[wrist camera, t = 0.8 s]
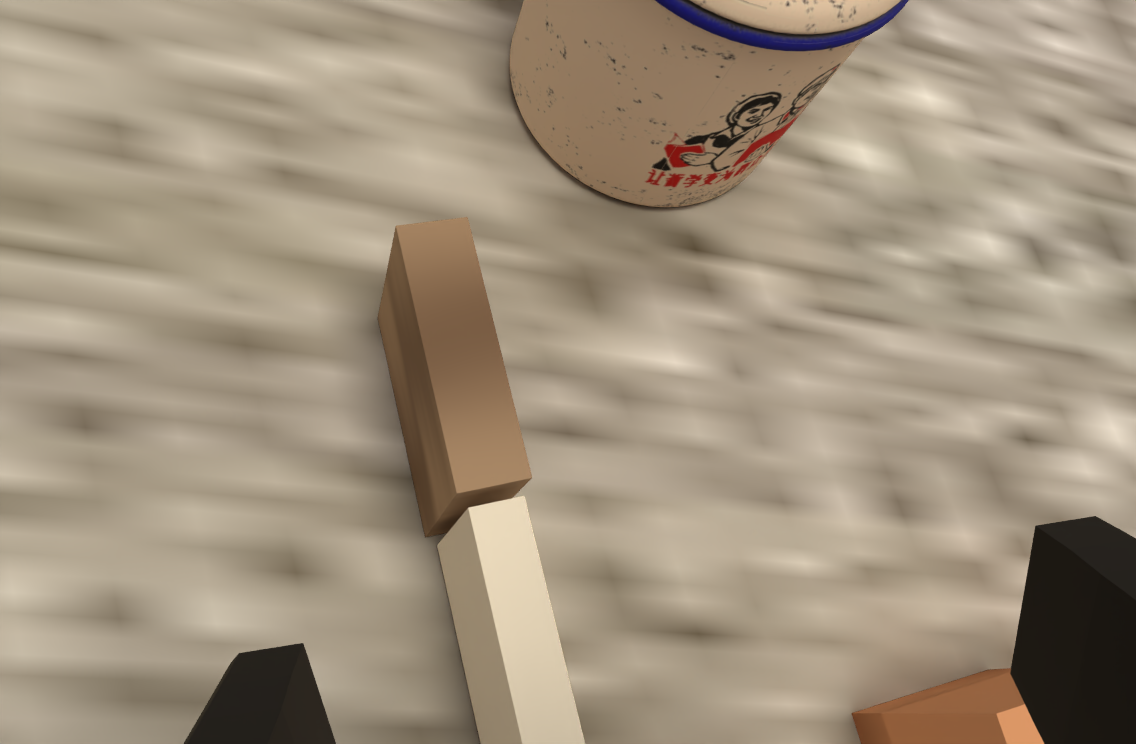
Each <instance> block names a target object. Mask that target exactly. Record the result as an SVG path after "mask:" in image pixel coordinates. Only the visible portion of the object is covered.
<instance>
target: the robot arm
mask: <svg viewBox="0 0 1136 744" xmlns="http://www.w3.org/2000/svg"><path fill="white" fill-rule="evenodd" d="M1010 674H1011V676H1012V678H1013V680H1014V682H1015V685H1016V687H1017V689H1018V691H1019V693H1020V695H1021V697H1022V699H1023V701H1024V703H1025V706H1026V708H1027V710H1028V712H1029V714H1030V716H1031V718H1032V720H1033V722H1034V724H1035V726H1036V728H1037V730H1038V732H1039V734H1040V736H1041V738H1042V740H1043V742H1044V744H1136V538H1134V537H1132V536H1130V535H1129V534H1127V533H1125V532H1123V531H1122V530H1120V529H1118V528H1116V527H1114V526H1112V525H1111V524H1109V523H1107V522H1105V521H1103V520H1101V519H1100V518H1098V517H1096V516H1094V517H1087V518H1081V519H1075V520H1069V521H1062V522H1056V523H1050V524H1044V525H1038V526H1035V532H1034V538H1033V544H1032V550H1031V555H1030V561H1029V567H1028V573H1027V579H1026V584H1025V590H1024V596H1023V602H1022V608H1021V614H1020V619H1019V625H1018V631H1017V637H1016V643H1015V648H1014V654H1013V660H1012V666H1011V672H1010ZM184 744H336V743H335V739H334V736H333V733H332V730H331V727H330V724H329V721H328V718H327V715H326V712H325V709H324V706H323V703H322V700H321V696H320V693H319V690H318V687H317V684H316V681H315V678H314V675H313V672H312V669H311V666H310V663H309V660H308V657H307V653H306V650H305V647H304V644H303V643H301V644H294V645H288V646H282V647H276V648H269V649H263V650H257V651H251V652H244V653H239V654H238V655H237V656H236V658H235V659H234V660H233V661H232V662H231V664H230V665H229V667H228V669H227V670H226V672H225V674H224V675H223V677H222V679H221V681H220V682H219V684H218V686H217V688H216V689H215V691H214V693H213V694H212V696H211V698H210V700H209V701H208V703H207V705H206V706H205V708H204V710H203V712H202V713H201V715H200V717H199V719H198V720H197V722H196V724H195V725H194V727H193V729H192V730H191V732H190V734H189V736H188V737H187V739H186V741H185V742H184Z"/></svg>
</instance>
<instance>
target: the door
mask: <svg viewBox="0 0 1136 744" xmlns="http://www.w3.org/2000/svg"><path fill="white" fill-rule="evenodd" d="M437 547H438V552H439V556H440V561H441V566H442V570H443V575H444V579H445V584H446V588H447V593H448V598H449V602H450V607H451V611H452V616H453V620H454V625H455V629H456V634H457V639H458V643H459V648H460V652H461V657H462V661H463V666H464V670H465V675H466V680H467V684H468V689H469V693H470V698H471V702H472V707H473V712H474V716H475V721H476V725H477V730H478V734H479V739H480V743H481V744H585V741H584V737H583V733H582V729H581V725H580V721H579V717H578V713H577V709H576V704H575V700H574V696H573V692H572V688H571V684H570V680H569V676H568V672H567V668H566V664H565V660H564V655H563V651H562V647H561V643H560V639H559V635H558V631H557V627H556V623H555V619H554V615H553V611H552V606H551V602H550V598H549V594H548V590H547V586H546V582H545V578H544V574H543V570H542V566H541V562H540V558H539V553H538V549H537V545H536V541H535V537H534V533H533V529H532V525H531V521H530V517H529V513H528V509H527V504H526V500H525V496H521V497H516V498H511V499H507V500H502V501H497V502H493V503H488V504H483V505H479V506H474V507H469V508H468V509H467V510H466V511H465V512H464V513H463V515H462V516H461V517H460V518H459V520H458V521H457V522H456V523H455V524H454V526H453V527H452V528H451V529H450V530H449V532H448V533H447V534H446V535H445V536H444V538H443V539H442V540H441V541H440V543H439V544H438V545H437Z"/></svg>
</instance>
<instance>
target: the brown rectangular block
mask: <svg viewBox="0 0 1136 744" xmlns="http://www.w3.org/2000/svg"><path fill="white" fill-rule="evenodd" d="M378 322H379V326H380V331H381V335H382V340H383V345H384V349H385V354H386V358H387V363H388V368H389V372H390V377H391V382H392V386H393V391H394V395H395V400H396V405H397V409H398V414H399V418H400V423H401V428H402V432H403V437H404V442H405V446H406V451H407V455H408V460H409V465H410V469H411V474H412V478H413V483H414V488H415V492H416V497H417V502H418V506H419V511H420V515H421V520H422V525H423V529H424V534H425V537H429V536H434V535H438V534H443V533H447V532H449V530H450V529H451V528H452V527H453V526H454V524H455V523H456V522H457V521H458V520H459V518H460V517H461V516H462V515H463V513H464V512H465V511H466V510H467V509H468V508H469V507H474V506H479V505H483V504H488V503H493V502H497V501H502V500H507V499H511V498H513V497H514V496H515V495H516V494H517V493H518V492H519V491H520V489H521V488H522V487H523V486H524V485H525V484H526V483H527V482H528V481H529V480H530V479H531V478H532V475H531V471H530V467H529V463H528V459H527V455H526V451H525V447H524V443H523V439H522V435H521V431H520V427H519V423H518V419H517V415H516V411H515V407H514V403H513V399H512V395H511V391H510V387H509V383H508V378H507V374H506V370H505V366H504V362H503V358H502V354H501V350H500V346H499V342H498V338H497V334H496V330H495V326H494V322H493V318H492V314H491V310H490V306H489V302H488V298H487V294H486V290H485V286H484V282H483V278H482V274H481V270H480V266H479V262H478V258H477V254H476V250H475V246H474V241H473V237H472V233H471V229H470V225H469V221H468V217H465V218H457V219H448V220H440V221H432V222H424V223H415V224H407V225H399V226H396V228H395V233H394V238H393V243H392V248H391V253H390V258H389V263H388V268H387V274H386V279H385V284H384V289H383V294H382V299H381V304H380V309H379V314H378Z"/></svg>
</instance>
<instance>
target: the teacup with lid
mask: <svg viewBox="0 0 1136 744" xmlns="http://www.w3.org/2000/svg"><path fill="white" fill-rule="evenodd" d="M907 2H908V0H524V2H523V5H522V8H521V11H520V15H519V18H518V21H517V24H516V27H515V31H514V34H513V37H512V43H511V48H510V77H511V83H512V88H513V92H514V95H515V99H516V102H517V104H518V107H519V110H520V112H521V115H522V117H523V118H524V120H525V122H526V124H527V126H528V128H529V129H530V131H531V133H532V134H533V136H534V137H535V139H536V140H537V141H538V143H539V144H540V145H541V146H542V148H543V149H544V150H545V151H546V152H547V153H548V154H549V155H550V157H551V158H552V159H553V160H554V161H556V162H557V163H558V164H559V165H560V166H561V167H562V168H563V169H565V170H566V171H567V172H568V173H570V174H571V175H572V176H574V177H575V178H577V179H578V180H580V181H581V182H583V183H584V184H586V185H588V186H590V187H591V188H593V189H595V190H597V191H599V192H601V193H604V194H606V195H608V196H611V197H613V198H616V199H619V200H622V201H626V202H630V203H634V204H639V205H645V206H653V207H679V206H686V205H692V204H696V203H700V202H704V201H707V200H710V199H713V198H715V197H717V196H720V195H722V194H724V193H726V192H727V191H729V190H730V189H732V188H734V187H735V186H736V185H738V184H739V183H740V182H741V181H743V180H744V179H745V178H746V177H747V176H748V175H749V174H750V173H751V172H752V171H753V170H754V169H755V168H756V167H757V165H758V164H759V163H760V162H761V161H762V159H763V158H764V157H765V156H766V155H767V153H768V152H769V151H770V150H771V149H772V147H773V146H774V145H775V144H776V143H777V141H778V140H779V139H780V138H781V137H782V136H783V134H784V133H785V132H786V131H787V130H788V128H789V127H790V126H791V125H792V124H793V122H794V121H795V120H796V119H797V118H798V116H799V115H800V114H801V113H802V112H803V110H804V109H805V108H806V107H807V106H808V104H809V103H810V102H811V101H812V100H813V99H814V97H815V96H816V95H817V94H818V93H819V91H820V90H821V89H822V88H823V87H824V85H825V84H826V83H827V82H828V81H829V79H830V78H831V77H832V76H833V75H834V73H835V72H836V71H837V70H838V69H839V67H840V66H841V65H842V64H843V63H844V61H845V60H846V59H847V58H848V57H849V56H850V54H851V53H852V52H853V51H854V50H855V48H856V47H857V46H858V45H859V44H860V42H861V41H862V40H863V39H864V38H865V37H866V36H868V35H870V34H872V33H873V32H875V31H877V30H878V29H880V28H881V27H883V26H884V25H885V24H886V23H888V22H889V21H890V20H891V19H893V18H894V17H895V16H896V14H897V13H898V12H899V11H900V10H901V9H902V8H903V7H904V6H905V4H906V3H907Z"/></svg>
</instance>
